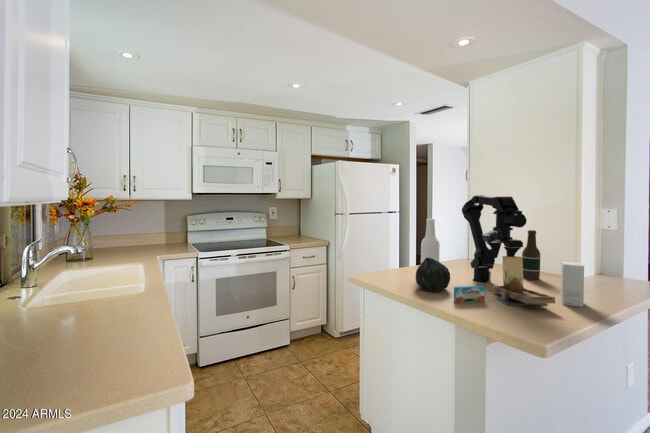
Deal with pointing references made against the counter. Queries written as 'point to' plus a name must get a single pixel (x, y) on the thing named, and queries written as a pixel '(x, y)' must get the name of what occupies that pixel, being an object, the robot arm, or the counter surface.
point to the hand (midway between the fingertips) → (501, 260)
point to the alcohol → (430, 242)
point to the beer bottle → (531, 258)
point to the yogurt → (469, 294)
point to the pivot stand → (512, 300)
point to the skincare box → (572, 284)
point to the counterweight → (513, 273)
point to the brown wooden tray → (526, 296)
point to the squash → (432, 275)
